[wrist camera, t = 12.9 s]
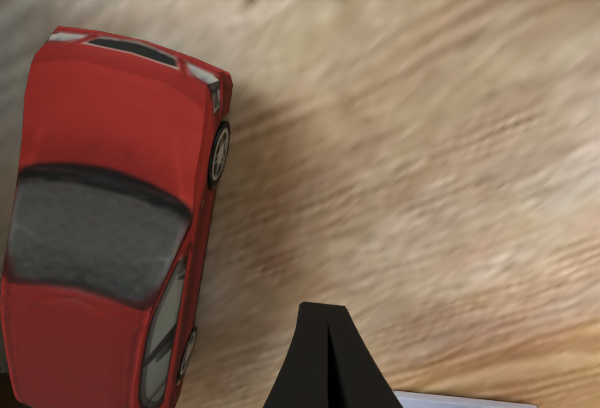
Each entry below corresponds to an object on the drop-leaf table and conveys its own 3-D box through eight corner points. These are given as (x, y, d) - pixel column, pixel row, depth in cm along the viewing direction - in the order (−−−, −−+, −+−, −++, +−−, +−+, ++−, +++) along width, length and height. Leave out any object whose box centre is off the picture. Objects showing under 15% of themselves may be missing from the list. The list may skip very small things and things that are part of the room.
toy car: (76, 353, 15) (-21, 474, 11) (95, 18, 10) (-95, -25, 5) (187, 379, 16) (139, 504, 11) (268, 79, 10) (238, 90, 6)
